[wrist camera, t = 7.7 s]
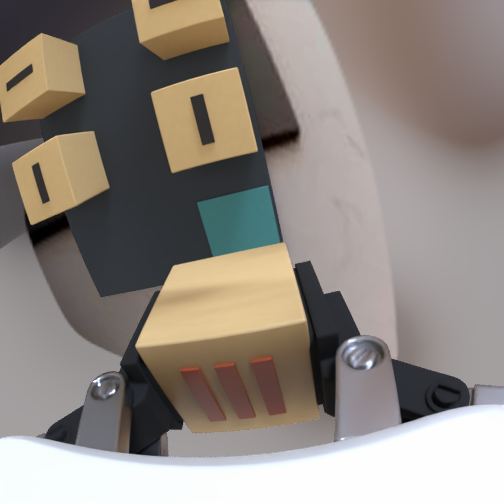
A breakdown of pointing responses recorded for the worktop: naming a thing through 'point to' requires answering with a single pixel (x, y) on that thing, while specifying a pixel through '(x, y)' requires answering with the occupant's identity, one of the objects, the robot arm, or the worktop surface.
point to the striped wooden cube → (232, 342)
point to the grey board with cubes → (143, 141)
